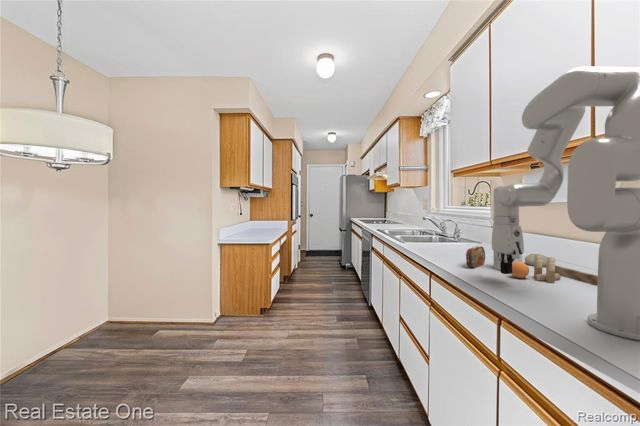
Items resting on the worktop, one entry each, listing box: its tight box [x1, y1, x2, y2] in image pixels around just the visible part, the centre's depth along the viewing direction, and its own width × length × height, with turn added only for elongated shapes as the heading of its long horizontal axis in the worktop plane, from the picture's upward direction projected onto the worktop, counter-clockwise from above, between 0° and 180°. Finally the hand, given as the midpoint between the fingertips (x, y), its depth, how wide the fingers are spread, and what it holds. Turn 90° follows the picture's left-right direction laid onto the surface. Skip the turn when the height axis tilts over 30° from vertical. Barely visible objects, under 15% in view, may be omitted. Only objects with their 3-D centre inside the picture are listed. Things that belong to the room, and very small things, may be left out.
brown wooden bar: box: [555, 264, 598, 286], centre depth 106 cm, size 20×2×3 cm, turn 6°
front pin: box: [533, 273, 562, 282], centre depth 105 cm, size 2×2×8 cm
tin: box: [465, 246, 486, 269], centre depth 128 cm, size 15×3×8 cm, turn 131°
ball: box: [511, 261, 530, 279], centre depth 108 cm, size 6×6×6 cm
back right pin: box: [545, 256, 556, 284], centre depth 102 cm, size 2×2×8 cm
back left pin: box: [533, 254, 543, 276], centre depth 107 cm, size 2×2×8 cm
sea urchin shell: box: [524, 253, 548, 268], centre depth 129 cm, size 9×8×8 cm
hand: (506, 273), depth 102 cm, fingers closed
